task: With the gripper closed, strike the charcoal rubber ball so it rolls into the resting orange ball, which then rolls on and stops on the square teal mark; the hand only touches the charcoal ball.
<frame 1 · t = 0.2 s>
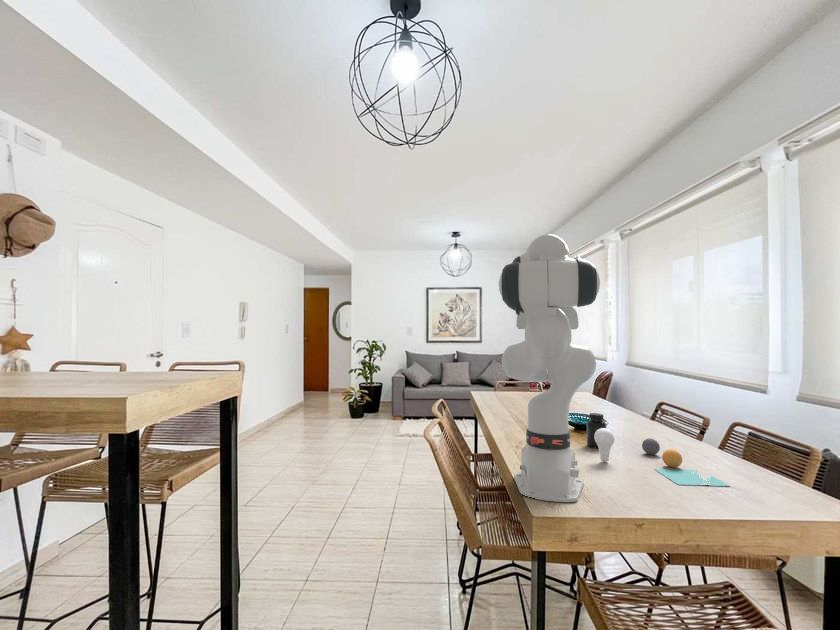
hand: (546, 342, 144), 39 cm above the table, tool pointing down, fingers open, 8 cm apart
lightbulb: (604, 462, 139), on the table
charcoal ball: (650, 446, 149), on the table
supplement bottle: (596, 446, 159), on the table
teal mark: (690, 477, 124), on the table
orange ball: (672, 458, 134), on the table
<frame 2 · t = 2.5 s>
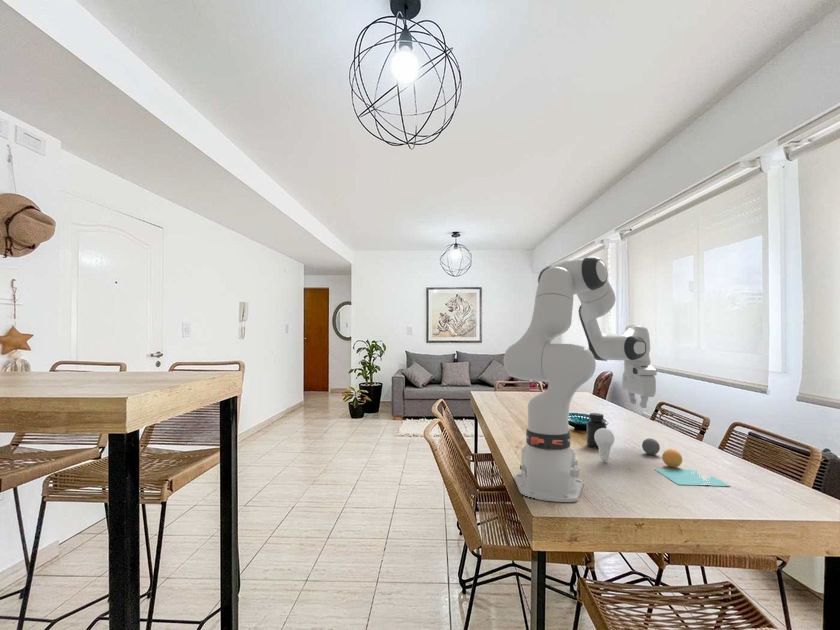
hand: (637, 405, 159), 15 cm above the table, tool pointing down, fingers open, 7 cm apart
nothing on the table moved.
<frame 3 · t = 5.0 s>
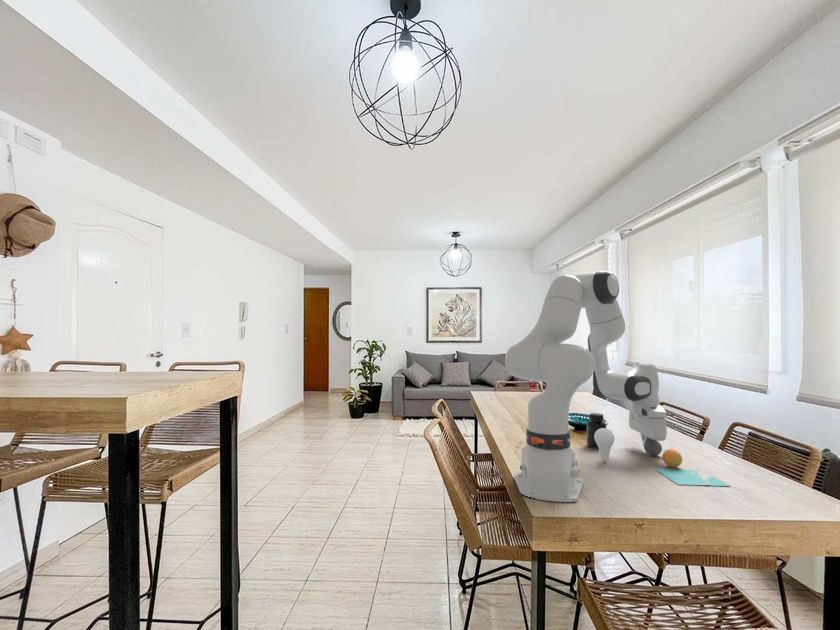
hand: (646, 447, 151), 2 cm above the table, tool pointing down, fingers closed
charcoal ball: (652, 447, 147), on the table, touching gripper
everything else where it was.
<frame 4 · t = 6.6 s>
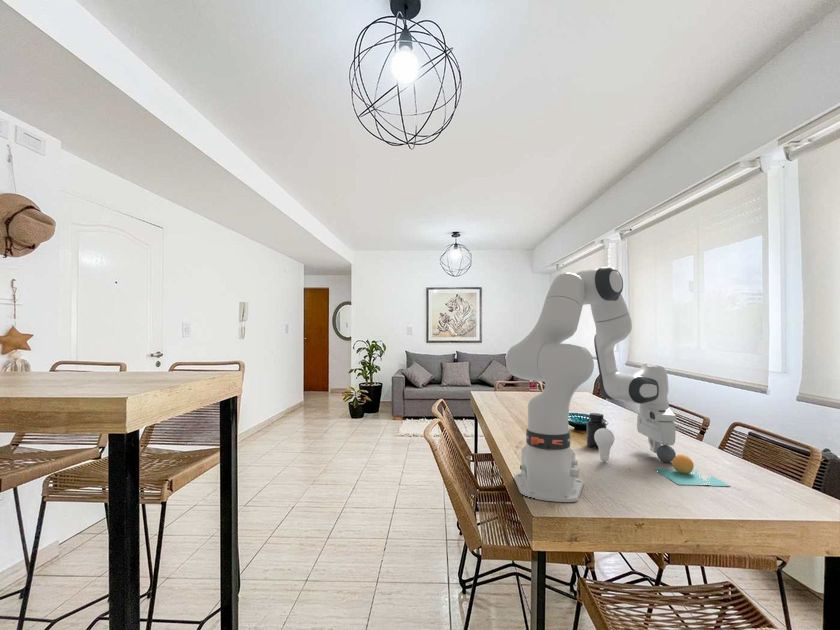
hand: (654, 452, 146), 2 cm above the table, tool pointing down, fingers closed
charcoal ball: (665, 453, 140), on the table
orange ball: (682, 464, 128), on the table
everything else where it was.
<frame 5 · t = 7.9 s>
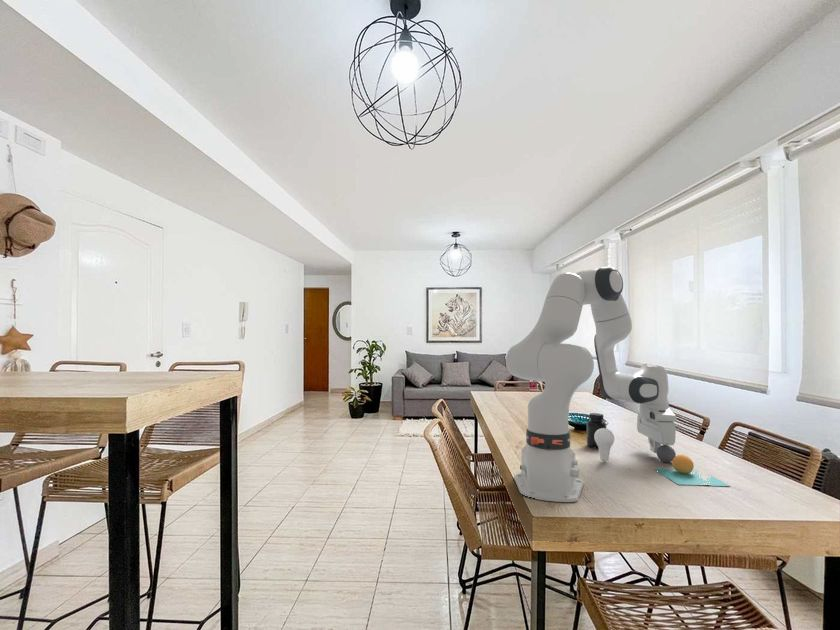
hand: (654, 452, 146), 2 cm above the table, tool pointing down, fingers closed
nothing on the table moved.
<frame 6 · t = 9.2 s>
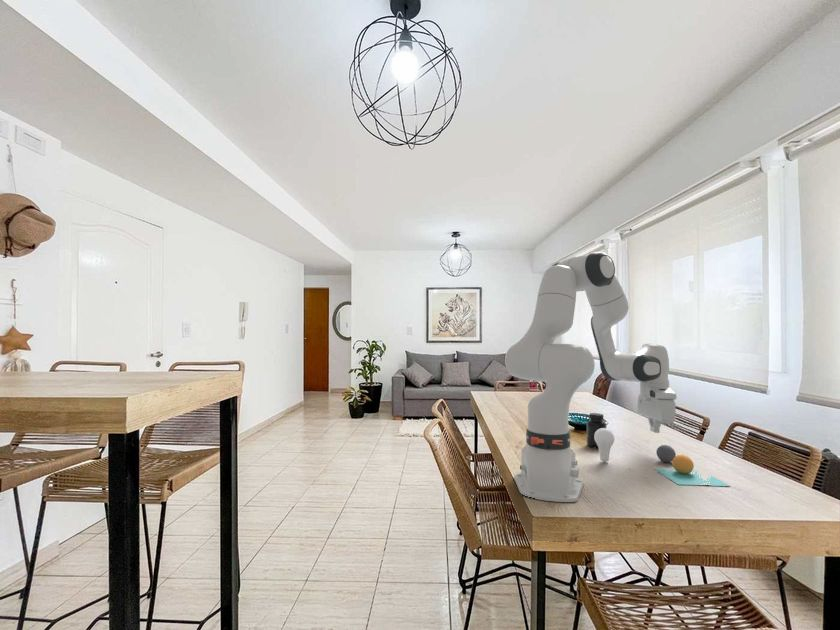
hand: (654, 432, 145), 9 cm above the table, tool pointing down, fingers closed
nothing on the table moved.
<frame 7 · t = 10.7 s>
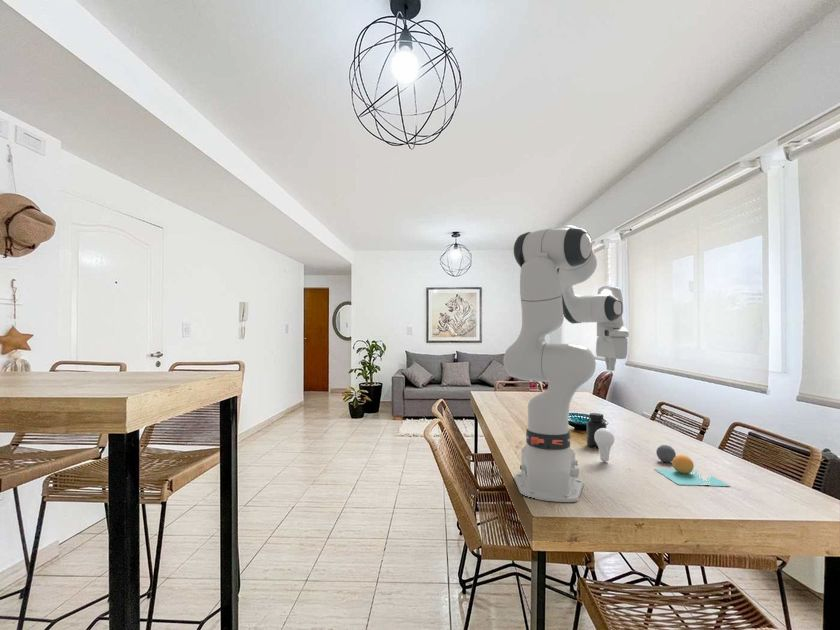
hand: (610, 370, 152), 29 cm above the table, tool pointing down, fingers closed
nothing on the table moved.
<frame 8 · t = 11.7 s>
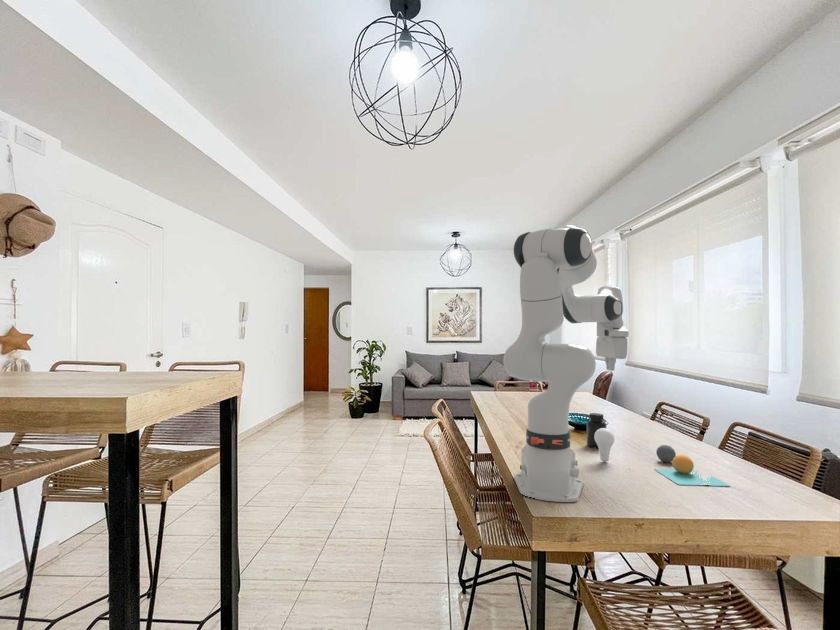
hand: (610, 370, 152), 29 cm above the table, tool pointing down, fingers closed
nothing on the table moved.
at the end: orange ball 3.6 cm from the teal mark (horizontally); orange ball never touched the robot; charcoal ball first touched orange ball at 5.3 s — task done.
